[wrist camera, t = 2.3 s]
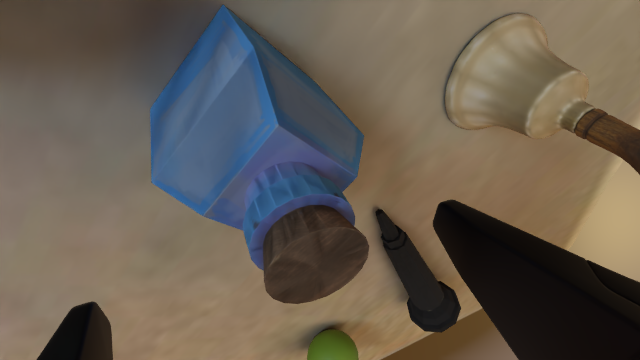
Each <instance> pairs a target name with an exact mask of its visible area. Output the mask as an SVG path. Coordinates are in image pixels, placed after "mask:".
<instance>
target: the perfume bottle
mask: <svg viewBox="0 0 640 360" xmlns="http://www.w3.org/2000/svg"><path fill="white" fill-rule="evenodd" d="M150 119H151V174H152V183H153V184H155V185H156V186H158V187H159V188H161V189H162V190H164V191H165V192H167V193H168V194H170V195H171V196H173V197H174V198H176V199H177V200H179V201H180V202H182V203H184V204H185V205H187V206H188V207H190V208H191V209H193V210H194V211H196V212H197V213H199V214H200V215H202V216H204V217H207V218H209V219H212V220H215V221H218V222H221V223H223V224H226V225H229V226H232V227H235V228H237V229H240V230H243V231H244V235H245V239H246V243H247V246H248V249H249V253H250V256H251V260H252V261H253V262H254V263H255V264H256V265H257V267H258V268H259V269H262V270H264V282H265V288H266V291H267V293H268V294H269V295H270V296H271V297H272V298H273V299H275V300H278V301H280V302H283V303H293V304H299V303H305V302H311V301H314V300H317V299H320V298H323V297H326V296H328V295H330V294H332V293H333V292H335V291H337V290H339V289H341V288H342V287H343V286H345V285H346V284H347V283H348V282H350V281H351V280H352V279H353V278H354V277H355V276H356V275H357V274H358V272H359V271H360V270H361V269H362V267H363V265H364V263H365V262H366V260H367V258H368V251H369V245H368V242H367V239H366V237H365V236H364V235H363V234H362V233H361V232H360V231H359V230H357V229H356V228H355V227H354V225H355V215H354V212H353V210H352V207H351V205H350V204H349V202H348V201H347V199H346V198H345V196H344V195H343V193H342V192H343V191H344V190H345V189H346V188H347V187H348V186H349V185H350V184H351V183H352V182H353V181H354V179H355V178H356V177H357V174H358V169H359V163H360V157H361V151H362V145H363V140H364V135H363V134H362V133H361V132H360V131H359V129H358V128H357V127H356V126H355V125H354V124H353V123H352V122H351V121H350V120H349V119H348V118H347V116H346V115H345V114H344V113H343V112H342V111H341V110H340V109H339V108H338V107H337V106H336V104H335V103H334V102H333V101H332V100H331V99H330V98H329V97H328V96H327V95H326V94H325V92H324V91H323V90H322V89H321V88H320V87H319V86H318V85H317V84H316V83H315V82H314V81H313V80H312V79H311V78H310V77H308V76H307V75H306V74H305V73H304V72H302V71H301V70H300V69H299V68H298V67H297V66H295V65H294V64H293V63H292V62H291V61H289V60H288V59H287V58H286V57H285V56H283V55H282V54H281V53H280V52H279V51H278V50H276V49H275V48H274V47H273V46H272V45H270V44H269V43H268V42H267V41H266V40H264V39H263V38H262V37H261V36H260V35H259V34H257V33H256V32H255V31H254V30H253V29H251V28H250V27H249V26H248V25H247V24H245V23H244V22H243V21H242V20H241V19H240V18H238V17H237V16H236V15H235V14H234V13H232V12H231V11H230V10H229V9H228V8H226V7H225V6H224V5H222V6H221V8H220V9H219V11H218V12H217V14H216V15H215V17H214V18H213V19H212V21H211V22H210V24H209V25H208V27H207V28H206V29H205V31H204V32H203V34H202V35H201V37H200V38H199V40H198V41H197V42H196V44H195V45H194V47H193V48H192V50H191V51H190V52H189V54H188V55H187V57H186V58H185V60H184V61H183V63H182V64H181V65H180V67H179V68H178V70H177V71H176V73H175V74H174V75H173V77H172V78H171V80H170V81H169V83H168V84H167V86H166V87H165V88H164V90H163V91H162V93H161V94H160V96H159V97H158V98H157V100H156V101H155V103H154V104H153V106H152V107H151V109H150Z"/></svg>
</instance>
